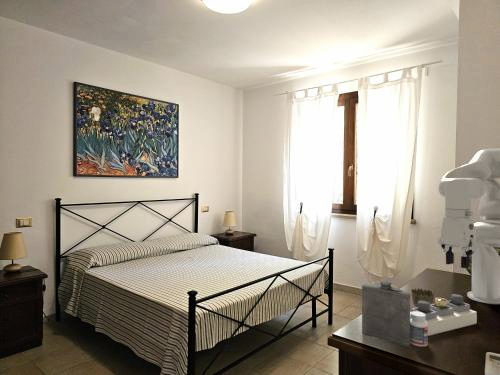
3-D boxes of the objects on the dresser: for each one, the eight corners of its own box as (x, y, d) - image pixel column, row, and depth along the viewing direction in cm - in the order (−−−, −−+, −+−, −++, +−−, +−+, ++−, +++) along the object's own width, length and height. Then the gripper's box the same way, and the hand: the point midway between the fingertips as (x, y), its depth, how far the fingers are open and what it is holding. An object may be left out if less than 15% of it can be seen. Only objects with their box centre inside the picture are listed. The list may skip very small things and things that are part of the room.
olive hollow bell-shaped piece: (436, 317, 119) (436, 295, 119) (414, 315, 120) (414, 294, 120) (429, 309, 126) (430, 288, 126) (409, 308, 128) (409, 287, 127)
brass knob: (439, 304, 116) (439, 296, 116) (449, 307, 112) (449, 299, 112) (432, 305, 114) (432, 297, 114) (441, 309, 111) (441, 301, 111)
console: (451, 313, 122) (452, 297, 122) (476, 323, 114) (476, 306, 113) (404, 324, 113) (405, 307, 113) (427, 335, 105) (427, 317, 105)
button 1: (423, 307, 113) (423, 300, 113) (432, 311, 109) (432, 303, 109) (415, 309, 111) (415, 301, 111) (424, 313, 108) (424, 305, 108)
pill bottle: (427, 348, 97) (427, 318, 97) (407, 344, 100) (407, 315, 100) (428, 341, 102) (428, 312, 101) (409, 337, 104) (409, 309, 104)
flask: (364, 330, 109) (364, 275, 109) (411, 342, 101) (411, 284, 100) (360, 334, 107) (360, 278, 106) (408, 347, 98) (409, 287, 97)
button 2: (455, 300, 119) (455, 293, 119) (465, 304, 115) (465, 297, 115) (448, 302, 117) (448, 295, 117) (458, 305, 114) (458, 298, 114)
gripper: (490, 215, 109) (489, 270, 109) (442, 211, 125) (442, 259, 125) (474, 216, 106) (474, 273, 107) (428, 212, 122) (428, 261, 122)
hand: (457, 265), depth 116 cm, fingers open, 4 cm apart
